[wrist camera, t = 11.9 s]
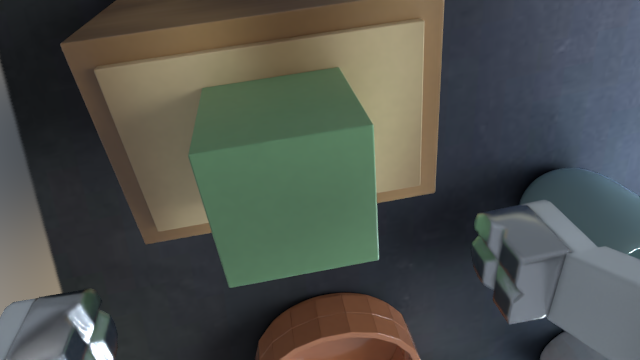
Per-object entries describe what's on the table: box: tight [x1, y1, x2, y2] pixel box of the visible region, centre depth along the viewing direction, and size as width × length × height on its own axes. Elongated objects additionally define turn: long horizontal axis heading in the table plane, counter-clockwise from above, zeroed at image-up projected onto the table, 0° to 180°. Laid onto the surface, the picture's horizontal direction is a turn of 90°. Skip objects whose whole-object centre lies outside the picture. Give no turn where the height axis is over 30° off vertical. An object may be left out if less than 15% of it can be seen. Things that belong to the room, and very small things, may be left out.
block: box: [188, 67, 379, 288], centre depth 13 cm, size 4×4×4 cm
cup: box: [519, 168, 640, 259], centre depth 31 cm, size 8×8×10 cm
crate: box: [60, 0, 444, 244], centre depth 20 cm, size 12×8×12 cm, turn 96°
